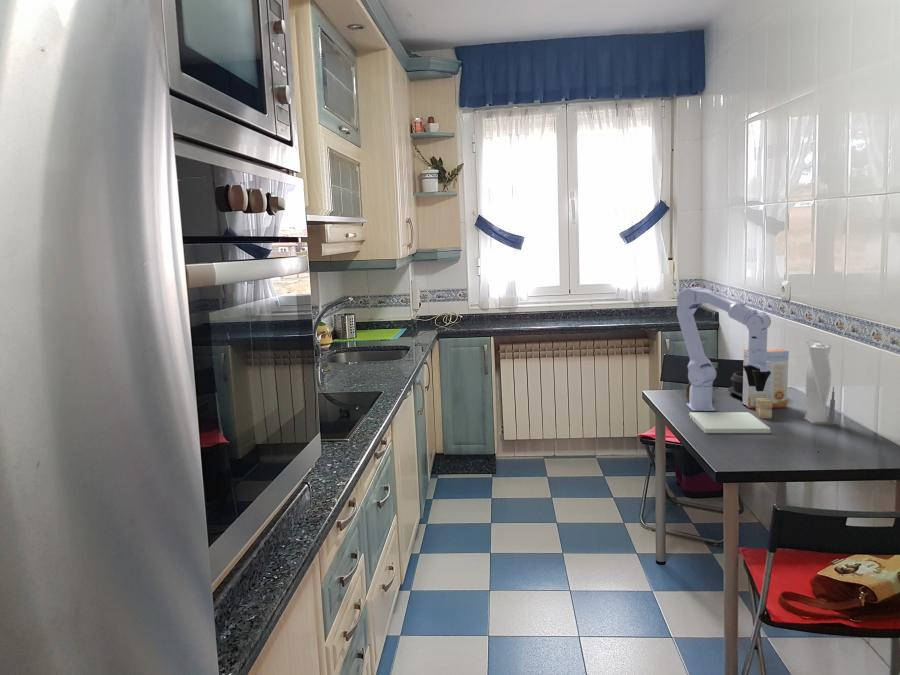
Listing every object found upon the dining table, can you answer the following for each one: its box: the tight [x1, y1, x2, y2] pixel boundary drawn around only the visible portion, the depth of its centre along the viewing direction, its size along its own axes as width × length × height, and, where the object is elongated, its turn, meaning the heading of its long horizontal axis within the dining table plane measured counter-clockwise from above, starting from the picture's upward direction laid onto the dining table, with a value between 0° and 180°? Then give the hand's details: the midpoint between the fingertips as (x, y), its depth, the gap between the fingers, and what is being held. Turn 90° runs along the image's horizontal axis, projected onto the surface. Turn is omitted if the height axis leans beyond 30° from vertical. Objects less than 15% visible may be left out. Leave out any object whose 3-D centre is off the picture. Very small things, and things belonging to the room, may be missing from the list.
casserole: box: [727, 370, 743, 398], centre depth 268 cm, size 25×19×8 cm
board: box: [688, 411, 771, 434], centre depth 230 cm, size 20×20×2 cm
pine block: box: [755, 398, 773, 419], centre depth 238 cm, size 4×4×6 cm
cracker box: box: [742, 348, 790, 409], centre depth 251 cm, size 14×6×21 cm, turn 89°
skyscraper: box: [803, 339, 836, 426], centre depth 230 cm, size 8×8×28 cm
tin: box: [685, 380, 691, 402], centre depth 264 cm, size 15×3×8 cm, turn 141°
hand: (755, 388), depth 235 cm, fingers open, 7 cm apart
